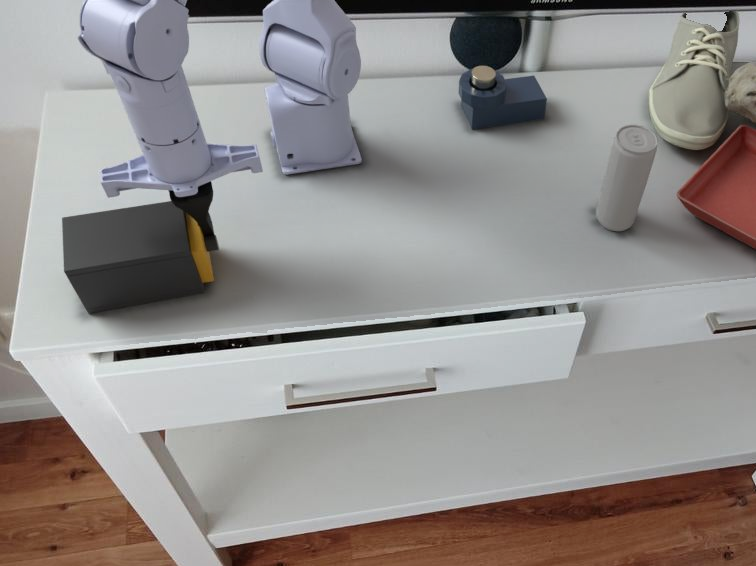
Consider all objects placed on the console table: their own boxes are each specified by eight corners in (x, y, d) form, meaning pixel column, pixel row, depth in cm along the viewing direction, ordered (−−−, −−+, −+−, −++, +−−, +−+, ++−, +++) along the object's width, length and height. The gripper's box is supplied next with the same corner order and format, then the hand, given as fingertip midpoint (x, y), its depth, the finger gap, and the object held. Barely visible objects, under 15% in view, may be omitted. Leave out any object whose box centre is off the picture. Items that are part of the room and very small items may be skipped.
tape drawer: (218, 237, 85) (208, 205, 81) (226, 278, 82) (216, 247, 78) (104, 256, 82) (88, 224, 78) (108, 300, 79) (91, 268, 75)
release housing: (465, 132, 100) (467, 99, 95) (452, 104, 103) (454, 70, 98) (545, 121, 102) (550, 88, 98) (530, 93, 105) (534, 60, 101)
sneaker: (631, 150, 101) (648, 95, 94) (667, 27, 117) (684, -27, 110) (713, 172, 100) (737, 119, 93) (738, 47, 116) (759, -7, 109)
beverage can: (627, 203, 95) (651, 122, 85) (639, 232, 92) (664, 151, 82) (590, 206, 94) (609, 124, 84) (600, 235, 92) (622, 154, 82)
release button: (475, 93, 97) (475, 81, 95) (468, 79, 98) (468, 66, 97) (497, 90, 98) (498, 78, 96) (490, 76, 99) (491, 64, 98)
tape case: (197, 242, 85) (181, 199, 80) (205, 292, 82) (189, 250, 76) (85, 261, 82) (61, 217, 77) (88, 314, 79) (63, 271, 73)
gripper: (83, 167, 67) (136, 272, 78) (254, 140, 70) (281, 244, 82) (79, 116, 70) (130, 223, 82) (243, 92, 74) (270, 198, 85)
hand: (205, 230), depth 82 cm, fingers closed, pressing on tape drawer
